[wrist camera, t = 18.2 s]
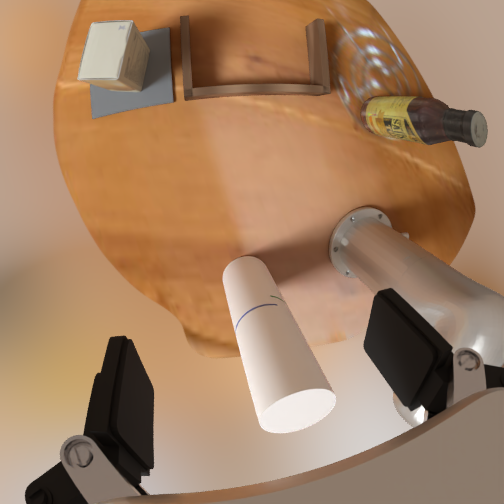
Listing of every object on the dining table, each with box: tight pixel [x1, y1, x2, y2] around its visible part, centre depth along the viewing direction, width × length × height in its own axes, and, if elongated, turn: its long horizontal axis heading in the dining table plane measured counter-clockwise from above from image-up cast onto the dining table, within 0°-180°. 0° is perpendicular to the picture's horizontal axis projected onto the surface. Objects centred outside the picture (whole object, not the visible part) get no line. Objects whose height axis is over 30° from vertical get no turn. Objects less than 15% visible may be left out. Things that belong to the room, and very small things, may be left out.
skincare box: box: [78, 20, 150, 92], centre depth 22 cm, size 6×4×12 cm
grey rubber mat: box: [90, 27, 173, 119], centre depth 28 cm, size 11×11×1 cm
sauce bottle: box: [361, 96, 488, 147], centre depth 28 cm, size 7×6×20 cm
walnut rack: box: [180, 16, 331, 101], centre depth 29 cm, size 18×11×4 cm, turn 94°
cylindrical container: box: [223, 256, 336, 433], centre depth 33 cm, size 7×7×25 cm
